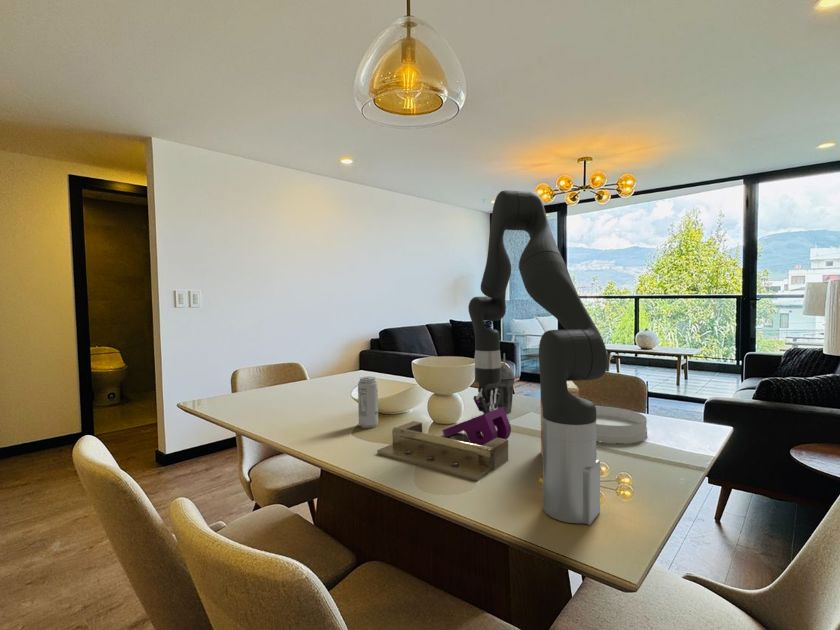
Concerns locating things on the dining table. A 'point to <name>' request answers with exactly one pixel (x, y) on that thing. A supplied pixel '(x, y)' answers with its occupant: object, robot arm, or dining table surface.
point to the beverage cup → (506, 388)
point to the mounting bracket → (483, 427)
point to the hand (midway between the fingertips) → (488, 424)
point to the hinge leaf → (445, 452)
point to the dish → (619, 425)
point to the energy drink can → (368, 402)
